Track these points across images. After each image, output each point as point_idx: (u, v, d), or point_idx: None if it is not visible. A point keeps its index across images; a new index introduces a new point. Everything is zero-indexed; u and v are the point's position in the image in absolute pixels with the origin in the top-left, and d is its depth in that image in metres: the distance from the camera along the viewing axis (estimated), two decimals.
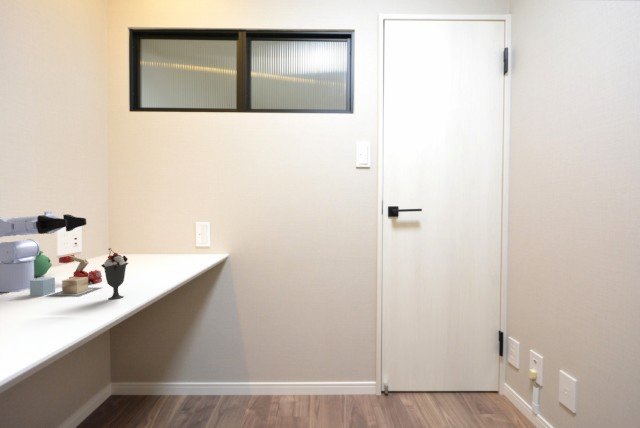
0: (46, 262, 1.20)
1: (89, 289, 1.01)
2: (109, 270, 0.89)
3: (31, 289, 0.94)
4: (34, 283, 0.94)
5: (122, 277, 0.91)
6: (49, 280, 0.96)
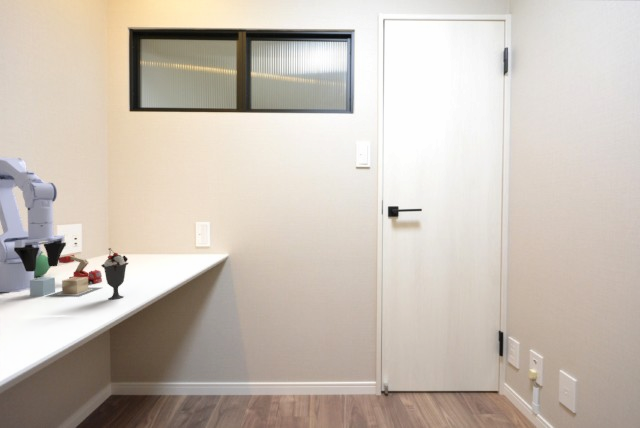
0: (46, 262, 1.20)
1: (89, 289, 1.01)
2: (109, 270, 0.89)
3: (31, 289, 0.94)
4: (34, 283, 0.94)
5: (122, 277, 0.91)
6: (49, 280, 0.96)
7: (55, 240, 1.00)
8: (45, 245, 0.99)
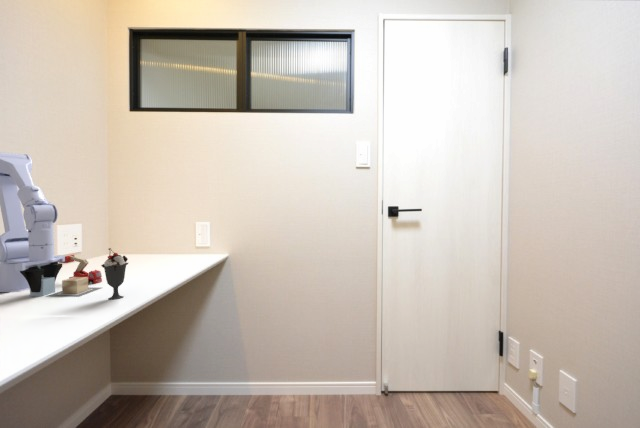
0: None
1: (89, 289, 1.01)
2: (109, 270, 0.89)
3: None
4: None
5: (122, 277, 0.91)
6: (49, 280, 0.96)
7: (56, 260, 1.00)
8: (41, 267, 0.98)
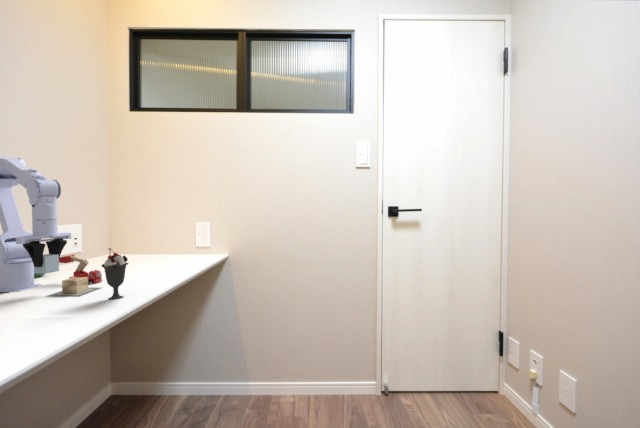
0: None
1: (89, 289, 1.01)
2: (109, 270, 0.89)
3: None
4: None
5: (122, 277, 0.91)
6: (52, 257, 0.96)
7: (61, 237, 1.00)
8: (47, 242, 0.98)
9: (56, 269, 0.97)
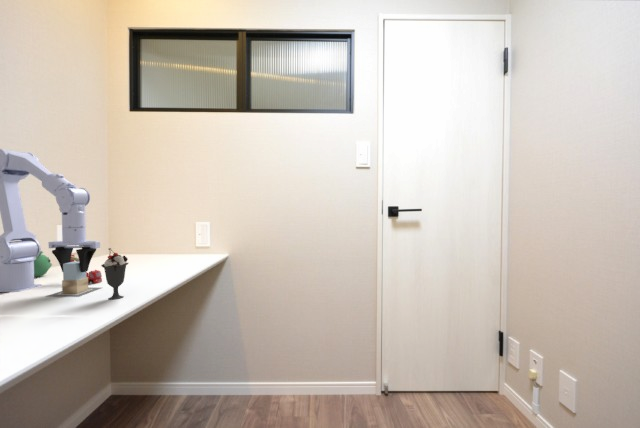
0: (46, 262, 1.20)
1: (89, 289, 1.01)
2: (109, 270, 0.89)
3: None
4: None
5: (122, 277, 0.91)
6: (70, 265, 0.96)
7: (88, 246, 0.97)
8: None
9: (74, 278, 0.96)
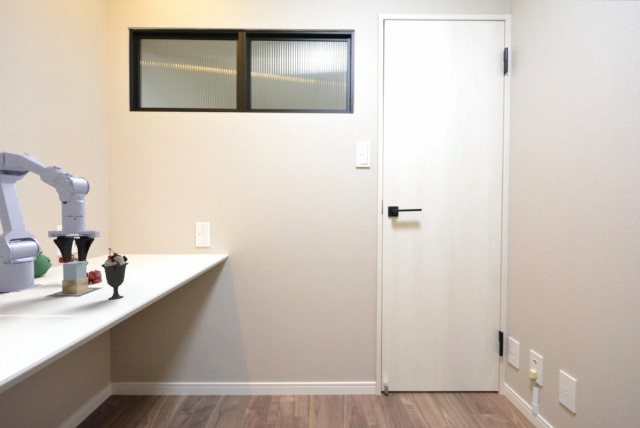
0: (46, 262, 1.20)
1: (89, 289, 1.01)
2: (109, 270, 0.89)
3: None
4: None
5: (122, 277, 0.91)
6: (70, 265, 0.96)
7: (88, 235, 0.97)
8: None
9: (74, 278, 0.96)
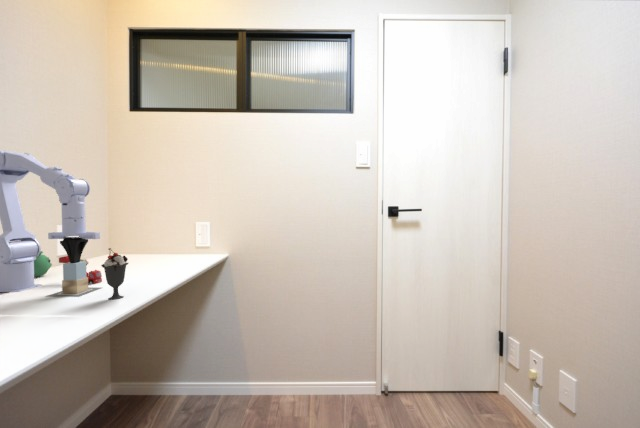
0: (46, 262, 1.20)
1: (89, 289, 1.01)
2: (109, 270, 0.89)
3: None
4: None
5: (122, 277, 0.91)
6: (70, 265, 0.96)
7: (88, 236, 0.97)
8: None
9: (74, 278, 0.96)
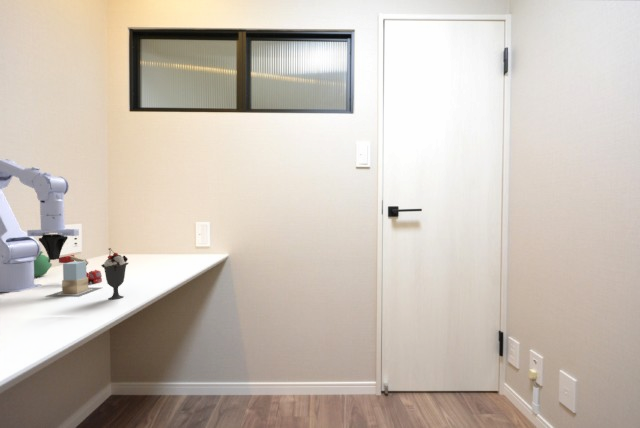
0: (46, 262, 1.20)
1: (89, 289, 1.01)
2: (109, 270, 0.89)
3: None
4: None
5: (122, 277, 0.91)
6: (70, 265, 0.96)
7: (67, 233, 0.98)
8: None
9: (74, 278, 0.96)
